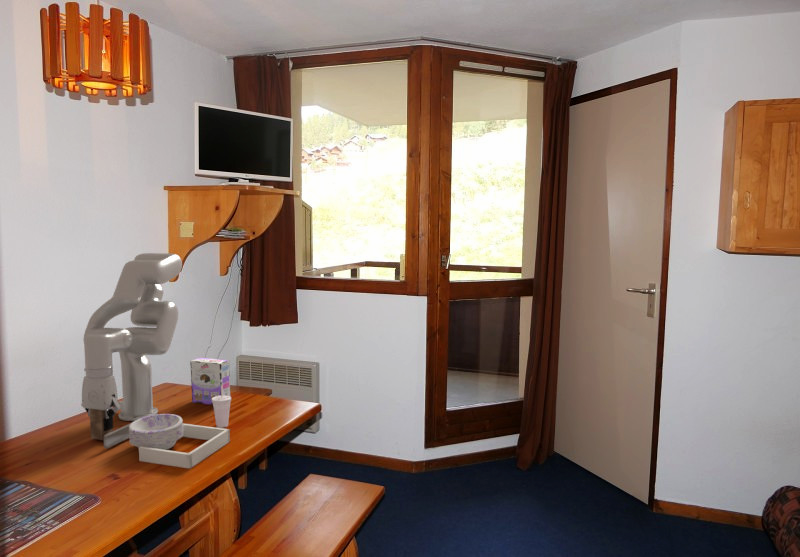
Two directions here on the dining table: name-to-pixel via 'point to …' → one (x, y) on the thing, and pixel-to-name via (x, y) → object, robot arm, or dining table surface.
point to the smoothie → (221, 409)
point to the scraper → (108, 436)
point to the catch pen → (188, 460)
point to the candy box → (209, 379)
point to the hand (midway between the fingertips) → (101, 428)
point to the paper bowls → (156, 431)
